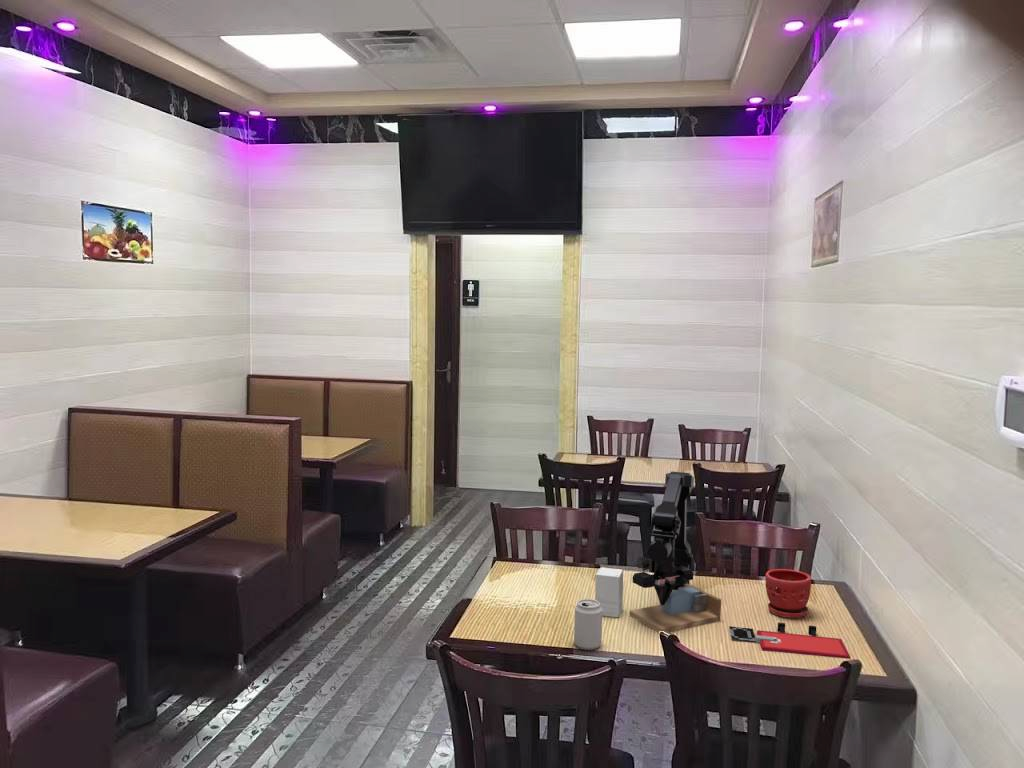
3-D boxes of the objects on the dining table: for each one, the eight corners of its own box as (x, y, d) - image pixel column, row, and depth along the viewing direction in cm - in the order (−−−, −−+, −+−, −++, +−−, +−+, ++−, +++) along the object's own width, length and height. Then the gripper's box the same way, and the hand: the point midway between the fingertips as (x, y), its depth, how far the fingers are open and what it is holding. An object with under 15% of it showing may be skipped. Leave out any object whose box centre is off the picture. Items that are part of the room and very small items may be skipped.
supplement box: (623, 609, 237) (624, 569, 236) (618, 618, 230) (619, 576, 229) (599, 606, 239) (600, 566, 238) (594, 614, 233) (595, 573, 231)
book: (690, 604, 238) (691, 587, 238) (699, 608, 235) (700, 591, 234) (662, 610, 233) (662, 592, 232) (670, 614, 229) (671, 596, 229)
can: (571, 639, 214) (572, 597, 213) (598, 639, 215) (599, 597, 214) (576, 651, 207) (577, 607, 206) (604, 650, 208) (605, 607, 206)
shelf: (686, 603, 243) (687, 583, 242) (720, 620, 229) (721, 599, 229) (629, 615, 232) (630, 594, 232) (661, 634, 219) (662, 611, 219)
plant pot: (810, 609, 240) (812, 571, 239) (807, 624, 228) (809, 584, 227) (766, 601, 245) (768, 565, 244) (761, 616, 234) (763, 577, 233)
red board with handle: (728, 626, 226) (732, 649, 211) (729, 617, 225) (733, 639, 211) (837, 638, 220) (850, 661, 205) (838, 628, 220) (850, 651, 205)
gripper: (671, 542, 240) (669, 591, 242) (622, 549, 232) (620, 600, 233) (695, 552, 231) (693, 603, 232) (645, 560, 222) (643, 613, 223)
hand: (662, 604), depth 230 cm, fingers closed
